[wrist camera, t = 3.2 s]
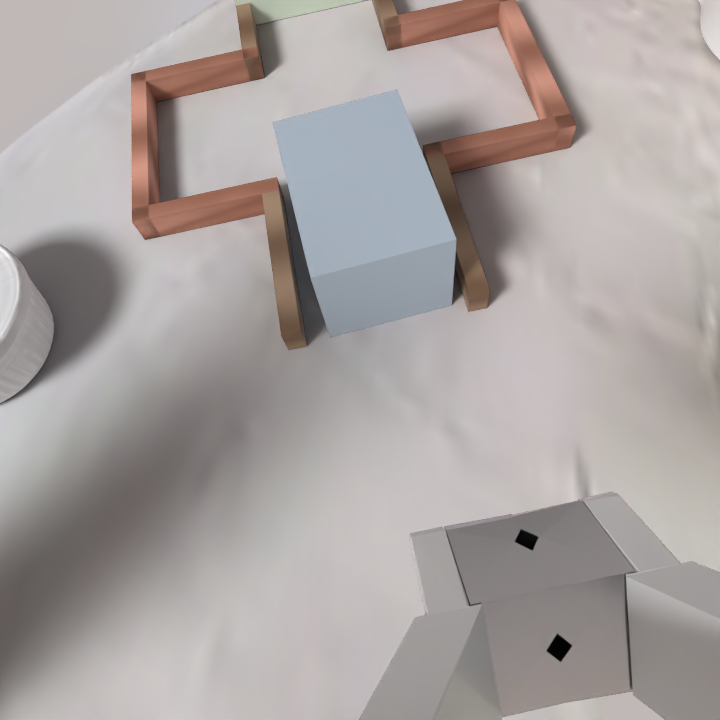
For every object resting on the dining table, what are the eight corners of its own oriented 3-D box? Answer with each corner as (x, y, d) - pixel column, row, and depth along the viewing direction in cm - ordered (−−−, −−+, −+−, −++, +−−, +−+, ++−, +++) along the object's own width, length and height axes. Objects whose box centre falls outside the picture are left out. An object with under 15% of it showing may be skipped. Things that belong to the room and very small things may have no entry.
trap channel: (631, 277, 36) (641, 258, 34) (147, 379, 36) (133, 366, 35) (487, -27, 50) (490, -52, 48) (141, 50, 51) (131, 29, 49)
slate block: (451, 306, 37) (456, 239, 30) (330, 338, 37) (310, 278, 30) (401, 170, 42) (397, 89, 36) (295, 198, 42) (272, 122, 36)
